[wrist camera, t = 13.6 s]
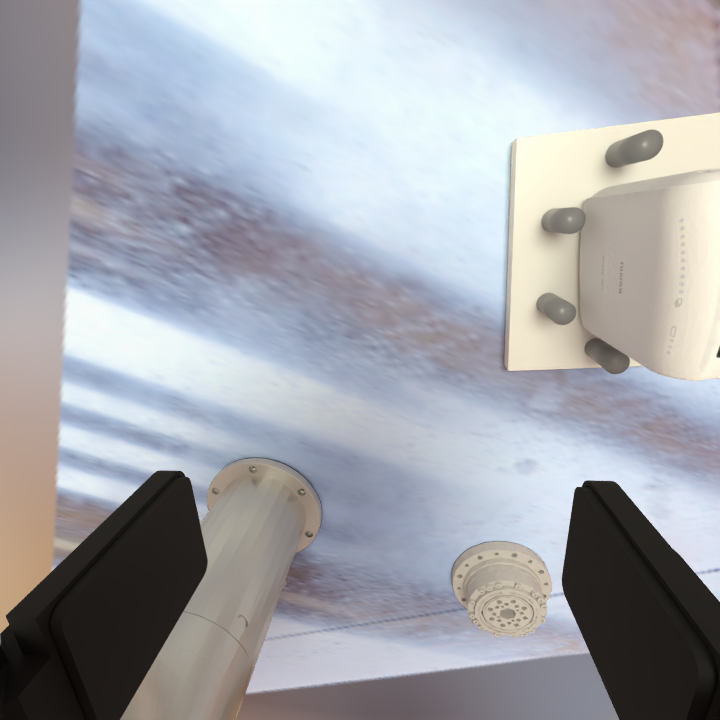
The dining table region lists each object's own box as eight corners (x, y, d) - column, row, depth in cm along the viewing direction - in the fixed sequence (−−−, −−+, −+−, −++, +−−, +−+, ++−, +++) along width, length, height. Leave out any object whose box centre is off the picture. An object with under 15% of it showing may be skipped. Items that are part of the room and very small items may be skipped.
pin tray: (672, 357, 31) (717, 382, 27) (504, 364, 33) (518, 388, 29) (718, 116, 25) (785, 94, 21) (511, 142, 27) (531, 127, 23)
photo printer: (576, 190, 27) (698, 170, 15) (645, 178, 26) (828, 148, 14) (573, 332, 30) (671, 403, 19) (634, 325, 29) (775, 396, 18)
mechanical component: (480, 618, 44) (564, 590, 41) (487, 659, 40) (581, 631, 37) (434, 559, 42) (518, 525, 39) (436, 596, 38) (531, 561, 35)
